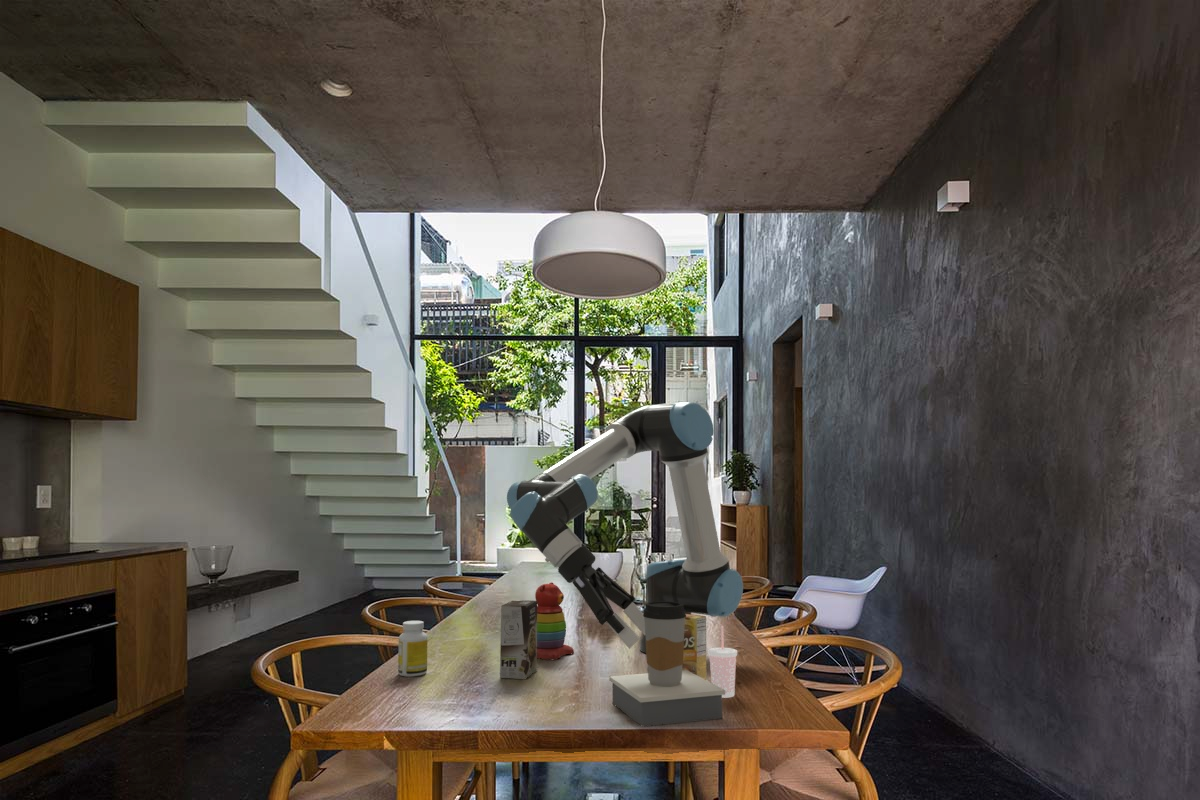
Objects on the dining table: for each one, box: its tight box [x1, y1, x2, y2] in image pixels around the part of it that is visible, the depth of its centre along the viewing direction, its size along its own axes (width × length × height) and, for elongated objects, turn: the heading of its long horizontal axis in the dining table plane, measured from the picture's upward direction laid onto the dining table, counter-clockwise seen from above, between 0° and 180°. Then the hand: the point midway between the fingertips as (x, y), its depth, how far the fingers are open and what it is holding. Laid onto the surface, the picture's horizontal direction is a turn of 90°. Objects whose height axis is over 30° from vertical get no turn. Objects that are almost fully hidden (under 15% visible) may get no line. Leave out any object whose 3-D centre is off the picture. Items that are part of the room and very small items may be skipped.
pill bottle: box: [397, 620, 428, 677], centre depth 189 cm, size 6×6×12 cm
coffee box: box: [499, 599, 538, 680], centre depth 189 cm, size 9×6×16 cm
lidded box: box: [608, 670, 725, 728], centre depth 160 cm, size 17×17×5 cm
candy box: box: [682, 613, 707, 680], centre depth 178 cm, size 9×4×15 cm, turn 50°
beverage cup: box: [707, 625, 738, 699], centre depth 172 cm, size 6×6×14 cm
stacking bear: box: [534, 581, 575, 660], centre depth 210 cm, size 11×10×18 cm
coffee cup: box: [643, 601, 686, 687], centre depth 160 cm, size 8×8×15 cm
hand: (642, 637), depth 162 cm, fingers open, 13 cm apart
